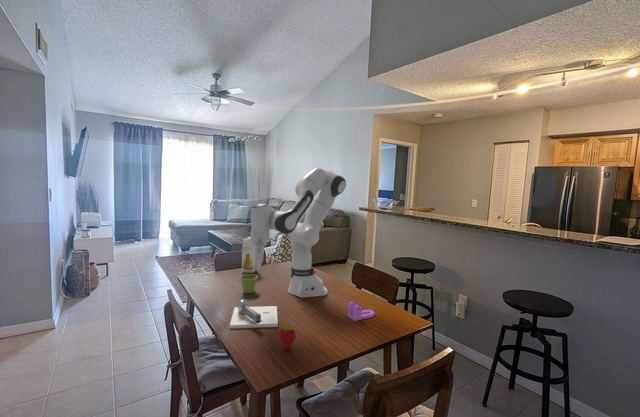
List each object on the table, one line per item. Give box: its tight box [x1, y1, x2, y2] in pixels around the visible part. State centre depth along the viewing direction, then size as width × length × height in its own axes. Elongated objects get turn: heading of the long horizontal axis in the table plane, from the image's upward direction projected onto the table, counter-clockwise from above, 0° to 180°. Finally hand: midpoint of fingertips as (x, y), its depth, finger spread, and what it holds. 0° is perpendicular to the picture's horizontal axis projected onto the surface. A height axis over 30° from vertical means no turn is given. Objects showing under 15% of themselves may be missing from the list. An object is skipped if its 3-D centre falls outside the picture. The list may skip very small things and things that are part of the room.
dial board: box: [229, 305, 279, 329], centre depth 136 cm, size 20×18×2 cm
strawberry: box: [278, 322, 297, 350], centre depth 113 cm, size 6×8×10 cm
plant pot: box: [240, 273, 259, 294], centre depth 168 cm, size 9×9×9 cm
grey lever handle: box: [237, 298, 261, 323], centre depth 132 cm, size 17×4×6 cm, turn 42°
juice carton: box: [241, 236, 258, 274], centre depth 203 cm, size 9×8×24 cm
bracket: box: [347, 301, 375, 322], centre depth 143 cm, size 13×6×7 cm, turn 118°
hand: (259, 266), depth 143 cm, fingers open, 8 cm apart
